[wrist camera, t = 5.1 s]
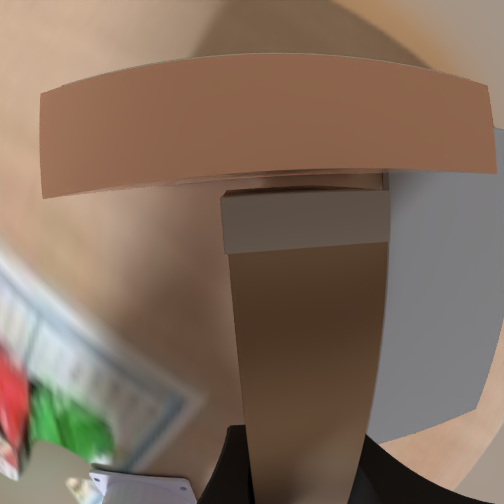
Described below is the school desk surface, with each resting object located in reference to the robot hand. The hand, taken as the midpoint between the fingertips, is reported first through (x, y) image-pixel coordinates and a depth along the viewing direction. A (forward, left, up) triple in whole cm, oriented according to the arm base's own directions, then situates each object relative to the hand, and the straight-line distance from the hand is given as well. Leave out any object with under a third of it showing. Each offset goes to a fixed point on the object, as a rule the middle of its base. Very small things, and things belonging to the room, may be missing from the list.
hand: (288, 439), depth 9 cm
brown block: (0, 0, -2) cm, 2 cm away
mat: (+1, -11, -6) cm, 13 cm away
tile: (+9, 0, -6) cm, 11 cm away
